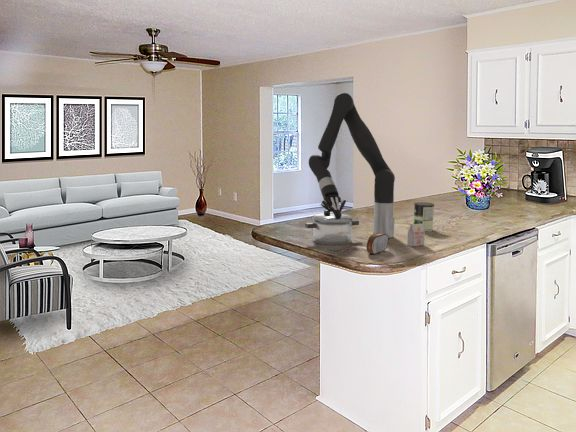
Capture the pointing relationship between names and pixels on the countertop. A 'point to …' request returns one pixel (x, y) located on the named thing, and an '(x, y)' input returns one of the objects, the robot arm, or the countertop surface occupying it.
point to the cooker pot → (331, 232)
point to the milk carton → (416, 235)
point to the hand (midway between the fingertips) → (339, 217)
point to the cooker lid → (331, 218)
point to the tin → (377, 243)
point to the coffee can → (424, 215)
